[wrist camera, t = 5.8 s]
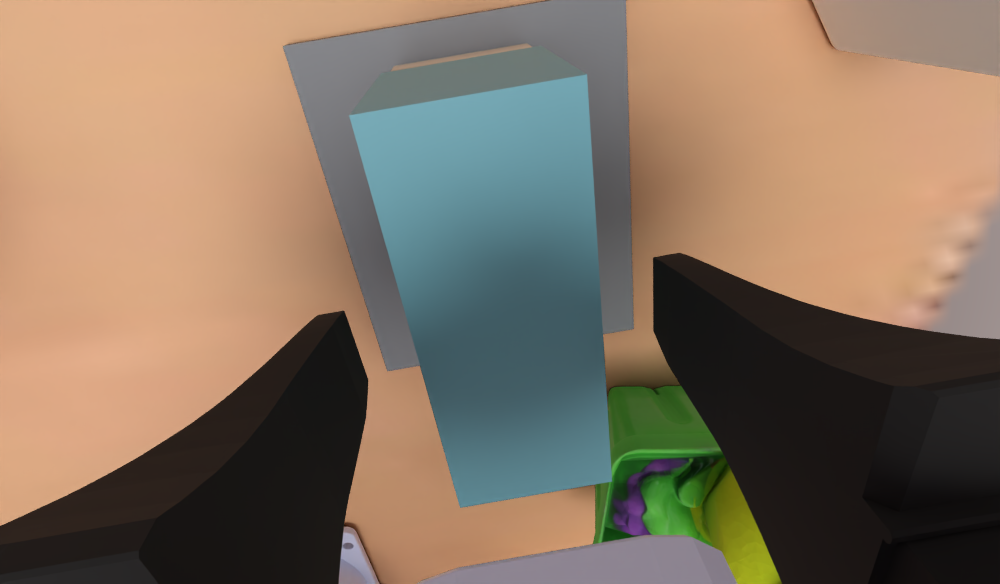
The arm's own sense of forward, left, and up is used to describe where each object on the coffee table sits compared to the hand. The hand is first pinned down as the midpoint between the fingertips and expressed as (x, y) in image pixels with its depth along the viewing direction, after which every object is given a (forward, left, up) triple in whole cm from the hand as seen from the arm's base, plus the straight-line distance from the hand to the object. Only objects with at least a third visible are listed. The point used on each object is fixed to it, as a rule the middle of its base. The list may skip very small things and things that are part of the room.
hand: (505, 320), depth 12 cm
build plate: (0, 0, -7) cm, 7 cm away
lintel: (0, 0, -4) cm, 4 cm away
